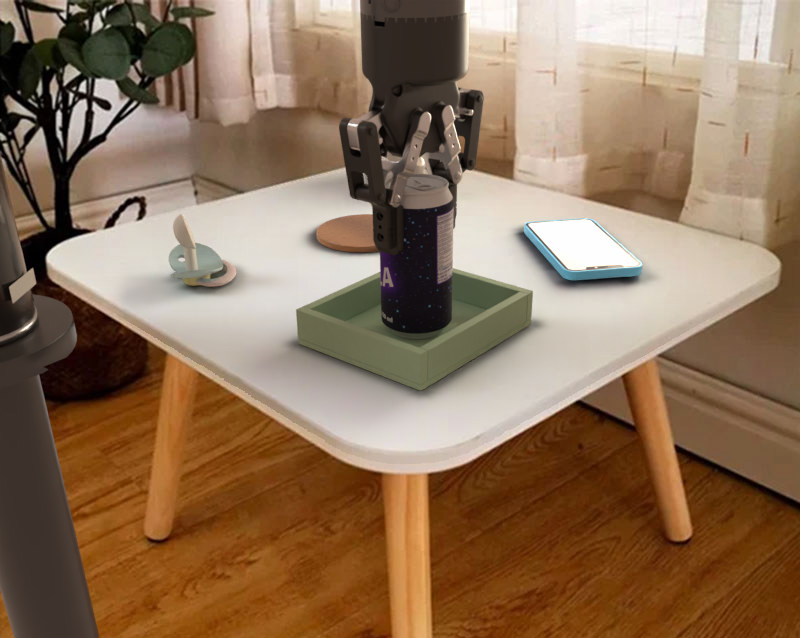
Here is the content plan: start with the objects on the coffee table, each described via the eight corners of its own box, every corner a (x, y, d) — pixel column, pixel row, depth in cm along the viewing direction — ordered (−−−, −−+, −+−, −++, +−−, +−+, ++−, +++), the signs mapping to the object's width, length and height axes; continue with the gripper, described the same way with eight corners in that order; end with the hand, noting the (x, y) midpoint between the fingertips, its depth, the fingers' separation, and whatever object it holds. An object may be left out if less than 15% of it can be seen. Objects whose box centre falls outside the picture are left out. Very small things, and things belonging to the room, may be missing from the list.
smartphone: (591, 217, 98) (646, 266, 85) (590, 228, 99) (644, 278, 86) (521, 222, 98) (566, 272, 84) (521, 233, 98) (565, 284, 85)
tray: (420, 391, 68) (420, 354, 67) (298, 343, 75) (295, 309, 74) (531, 324, 78) (533, 290, 76) (413, 287, 85) (413, 256, 84)
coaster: (369, 259, 91) (369, 254, 91) (296, 238, 97) (296, 232, 96) (433, 232, 98) (433, 226, 97) (361, 213, 103) (361, 208, 103)
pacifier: (232, 262, 91) (168, 267, 90) (227, 199, 88) (162, 203, 87) (241, 291, 85) (173, 296, 84) (236, 224, 82) (166, 229, 81)
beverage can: (418, 307, 80) (417, 167, 74) (466, 328, 76) (469, 182, 70) (367, 327, 77) (362, 182, 71) (415, 350, 73) (414, 199, 67)
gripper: (436, -9, 71) (435, 208, 80) (301, 13, 62) (316, 256, 70) (519, -2, 67) (509, 226, 75) (388, 22, 57) (393, 280, 66)
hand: (416, 239), depth 73 cm, fingers closed on beverage can, 5 cm apart
